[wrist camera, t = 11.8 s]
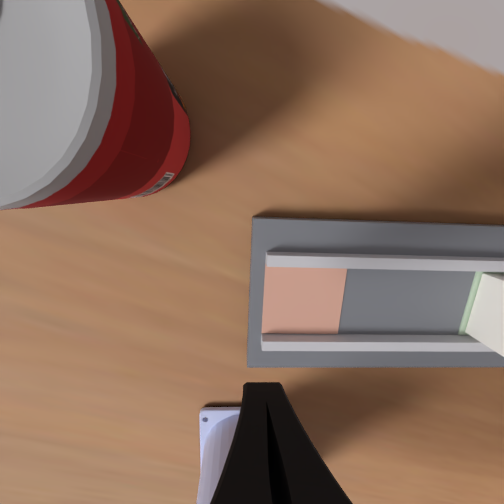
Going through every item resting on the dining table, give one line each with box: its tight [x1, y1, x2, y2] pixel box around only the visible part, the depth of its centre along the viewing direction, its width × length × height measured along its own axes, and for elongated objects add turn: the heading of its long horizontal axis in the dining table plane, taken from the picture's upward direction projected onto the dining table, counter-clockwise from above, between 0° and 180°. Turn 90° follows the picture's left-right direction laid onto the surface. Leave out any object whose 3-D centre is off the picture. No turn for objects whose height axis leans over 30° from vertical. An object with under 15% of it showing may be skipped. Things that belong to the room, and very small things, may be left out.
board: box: [247, 217, 504, 367], centre depth 18 cm, size 12×26×3 cm, turn 88°
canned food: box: [0, 0, 190, 210], centre depth 11 cm, size 8×8×11 cm
